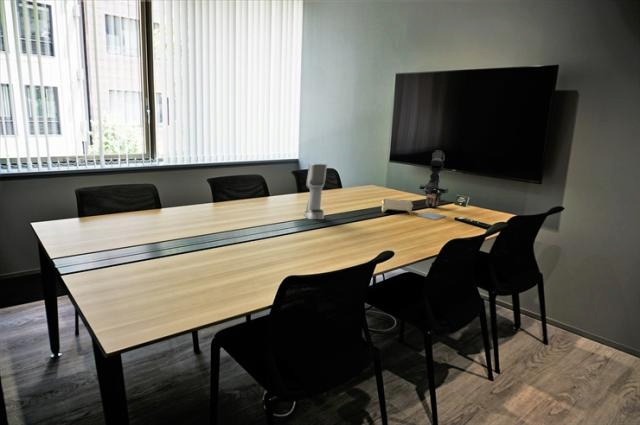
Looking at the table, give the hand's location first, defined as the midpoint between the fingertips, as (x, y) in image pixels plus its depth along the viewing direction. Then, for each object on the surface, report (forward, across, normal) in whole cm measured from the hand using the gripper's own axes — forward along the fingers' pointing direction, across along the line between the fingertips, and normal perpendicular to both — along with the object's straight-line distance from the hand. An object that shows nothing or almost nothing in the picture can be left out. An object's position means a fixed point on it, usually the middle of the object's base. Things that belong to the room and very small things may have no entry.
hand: (432, 201), depth 287 cm
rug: (+10, +1, -1) cm, 10 cm away
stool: (+2, 0, 0) cm, 3 cm away
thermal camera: (+10, -47, -67) cm, 83 cm away
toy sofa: (+10, -20, -11) cm, 25 cm away
